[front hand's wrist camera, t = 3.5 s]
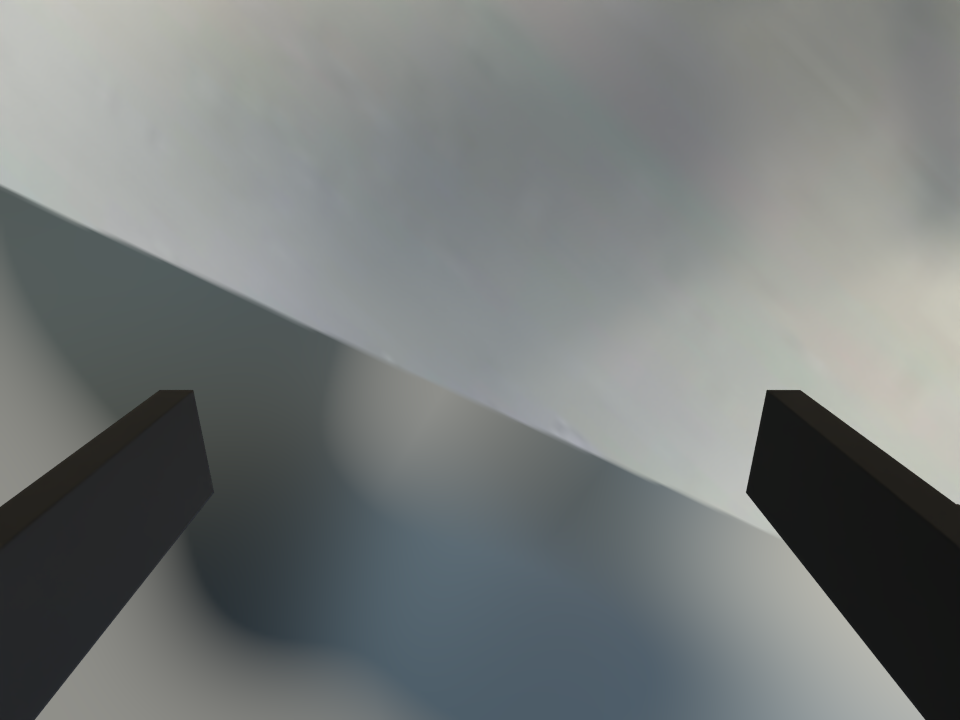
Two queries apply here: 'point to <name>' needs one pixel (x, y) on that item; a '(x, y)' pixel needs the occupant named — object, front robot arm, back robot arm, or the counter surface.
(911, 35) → the counter surface
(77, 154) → the counter surface
